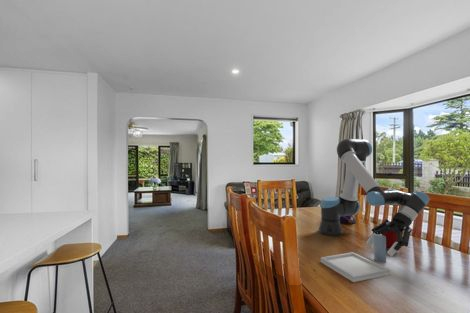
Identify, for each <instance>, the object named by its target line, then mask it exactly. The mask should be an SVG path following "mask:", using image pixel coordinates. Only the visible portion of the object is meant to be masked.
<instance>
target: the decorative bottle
mask: <svg viewBox="0 0 470 313" xmlns="http://www.w3.org/2000/svg"><path fill="white" fill-rule="evenodd" d="M342 193H343V189H342V190H340V194H342ZM348 222H351V223H353V224H356V223H357V221H356V219H355V217H354V215H352V216H340V223H348Z"/></svg>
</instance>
